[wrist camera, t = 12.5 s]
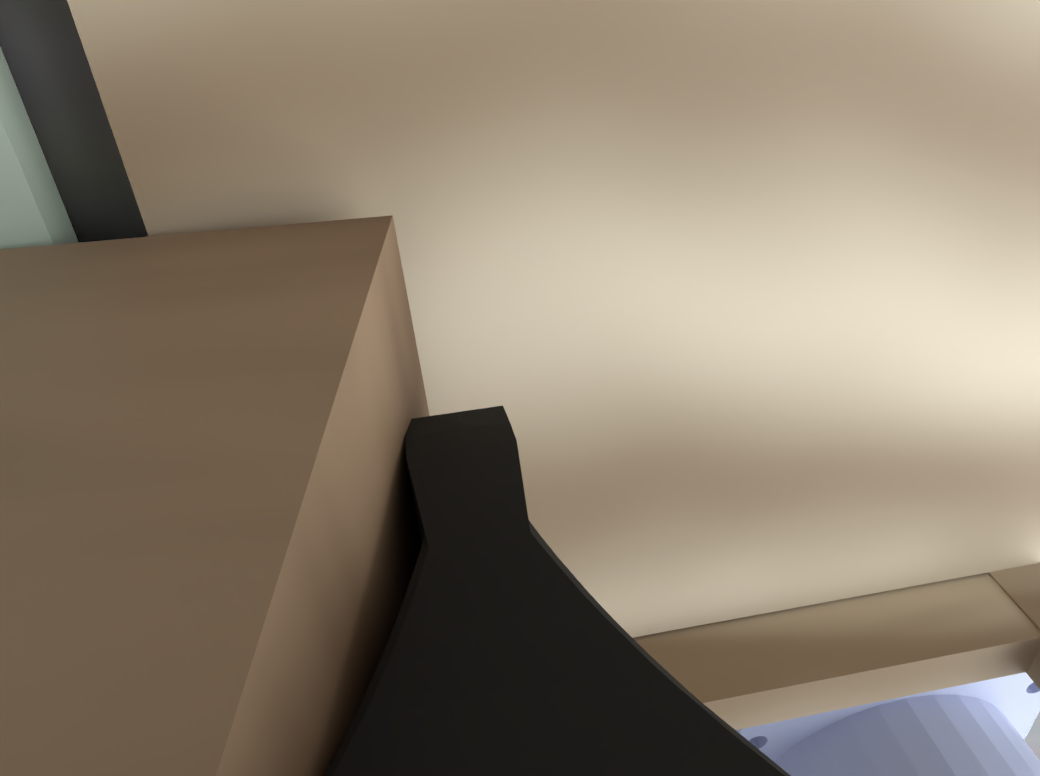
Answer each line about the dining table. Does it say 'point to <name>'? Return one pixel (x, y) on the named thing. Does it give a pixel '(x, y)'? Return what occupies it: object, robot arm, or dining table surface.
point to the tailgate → (26, 179)
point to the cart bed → (677, 290)
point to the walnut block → (201, 496)
